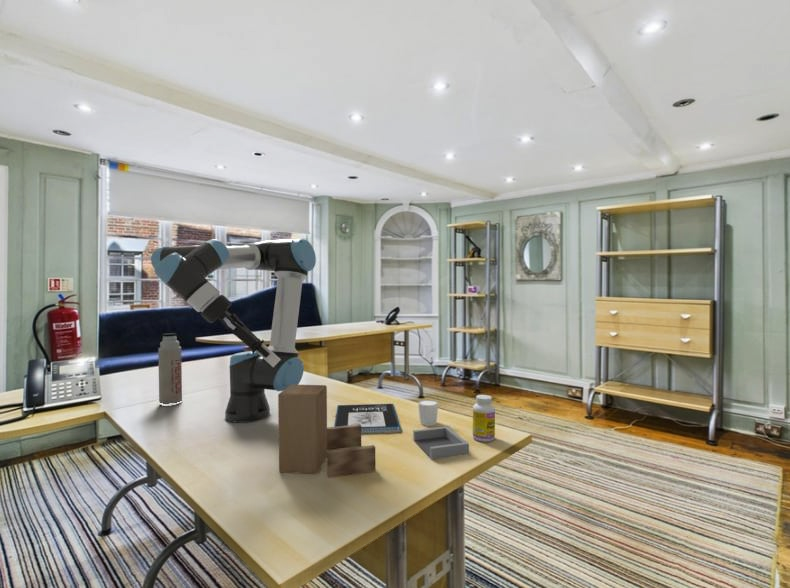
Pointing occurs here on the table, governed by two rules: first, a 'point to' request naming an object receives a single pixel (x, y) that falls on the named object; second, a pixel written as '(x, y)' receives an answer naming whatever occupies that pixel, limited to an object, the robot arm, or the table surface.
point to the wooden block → (302, 428)
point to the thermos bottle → (170, 370)
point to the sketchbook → (369, 417)
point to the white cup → (428, 412)
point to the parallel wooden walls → (348, 452)
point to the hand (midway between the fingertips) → (276, 363)
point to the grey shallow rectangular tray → (440, 442)
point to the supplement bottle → (483, 419)
